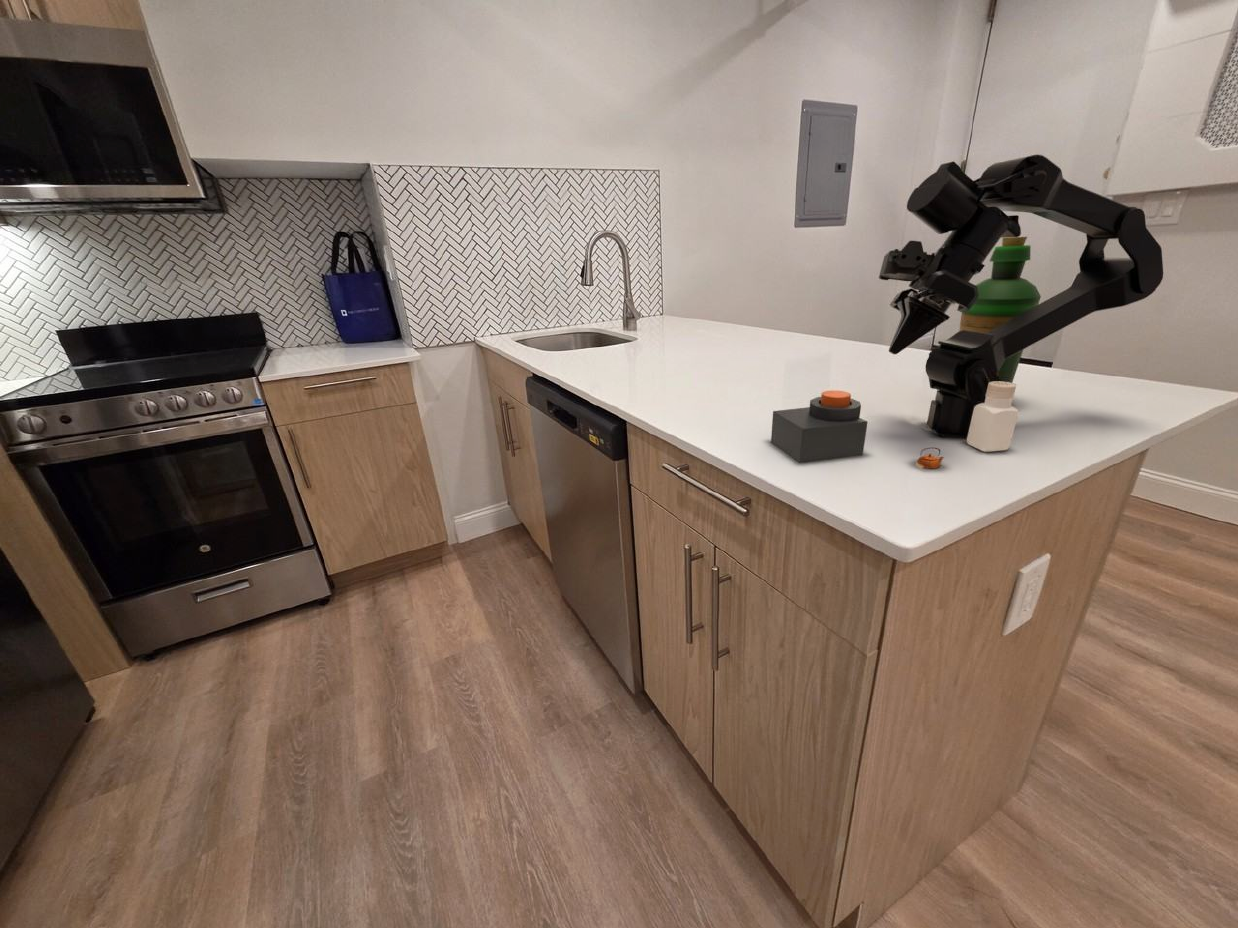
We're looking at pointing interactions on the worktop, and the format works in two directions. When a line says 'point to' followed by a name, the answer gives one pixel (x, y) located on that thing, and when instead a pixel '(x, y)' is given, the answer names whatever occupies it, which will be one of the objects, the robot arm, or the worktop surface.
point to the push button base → (819, 431)
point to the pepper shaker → (994, 418)
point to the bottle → (1003, 296)
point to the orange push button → (835, 398)
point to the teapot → (929, 461)
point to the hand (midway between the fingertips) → (891, 353)
